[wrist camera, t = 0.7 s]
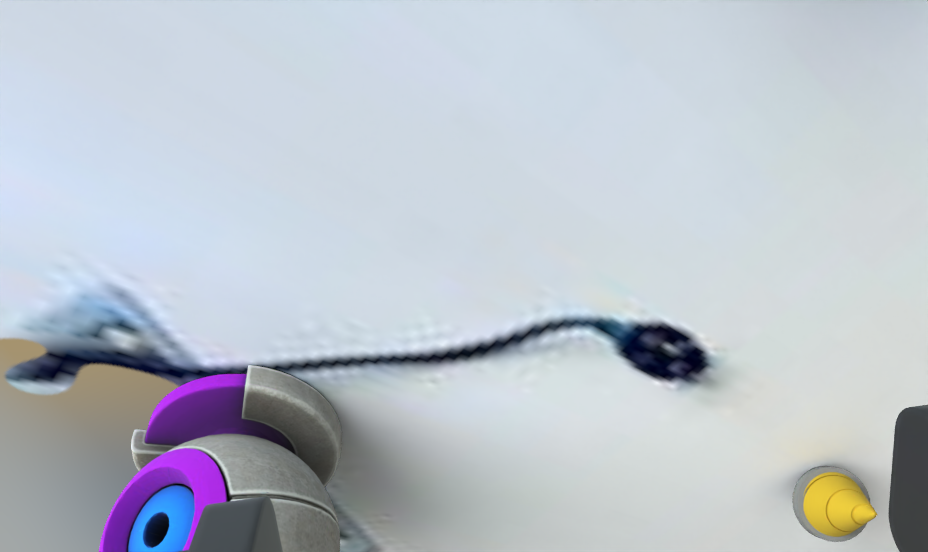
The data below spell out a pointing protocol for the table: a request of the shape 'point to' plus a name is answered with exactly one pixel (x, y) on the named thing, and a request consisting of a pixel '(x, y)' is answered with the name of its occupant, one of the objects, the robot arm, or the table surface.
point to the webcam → (231, 462)
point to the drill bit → (832, 504)
